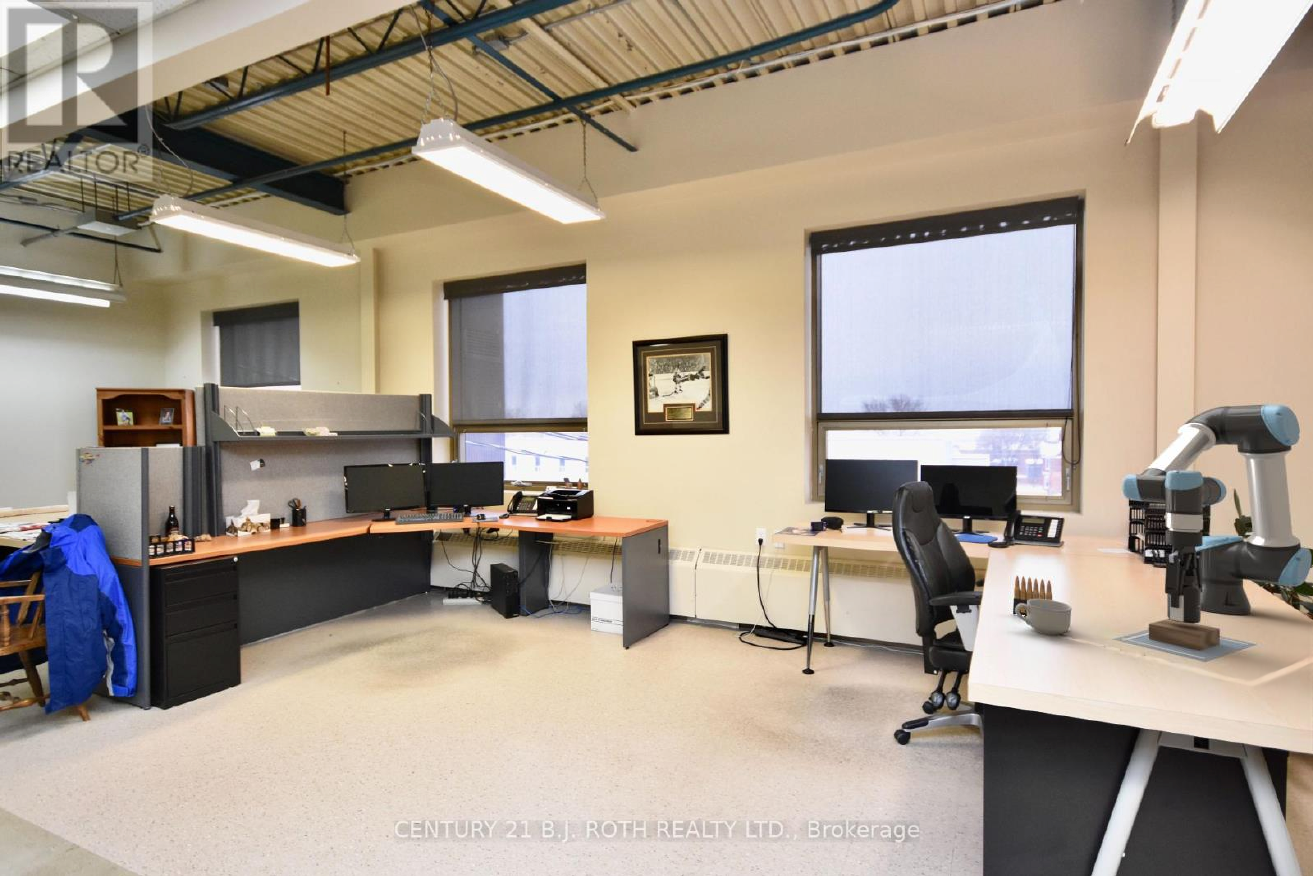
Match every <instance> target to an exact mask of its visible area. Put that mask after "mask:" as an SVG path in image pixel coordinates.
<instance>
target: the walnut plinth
mask: <svg viewBox="0 0 1313 876" xmlns="http://www.w3.org/2000/svg"><path fill="white" fill-rule="evenodd" d="M1148 630H1149V639H1151V640H1155V641H1159V642H1164V643H1168V644H1172V645H1176V646H1181V647H1185V648H1189V649H1193V650H1198V651H1200V650H1204V649H1207V648H1210V647H1213V646H1216V645H1219V644H1220V637H1221V632H1220V631H1221V629H1220V628H1218V627H1213V626H1209V625H1203V624H1199V623H1183V622H1177V621H1173V620H1171V619H1169V618H1166V619H1162V620H1159V621H1154V622H1151V623H1148Z"/></svg>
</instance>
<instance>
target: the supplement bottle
mask: <svg viewBox="0 0 1313 876" xmlns="http://www.w3.org/2000/svg"><path fill="white" fill-rule="evenodd" d="M1195 583H1196V576H1195V575H1192V574H1187V573H1185V577H1184V583H1183V589H1182V596H1184V621H1183V623H1194V624H1199V623H1201V619H1202V618H1201V615H1202V614H1201V613H1202V612H1201V611H1202V610H1201V590H1200V588H1199V587H1198V586H1196V585H1195ZM1166 596H1167V597H1166V606H1167V607H1166V609H1167V611H1166V612H1167V613H1166V615H1167V619H1170V594H1166ZM1171 620H1172V619H1171ZM1173 621H1176V620H1173ZM1177 622H1181V621H1177Z"/></svg>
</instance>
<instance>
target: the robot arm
mask: <svg viewBox="0 0 1313 876" xmlns="http://www.w3.org/2000/svg"><path fill="white" fill-rule="evenodd" d="M1300 433H1301V431H1300V425H1299V420H1298V418H1297V416H1296V414H1295V412H1294V411H1293V410H1292V409H1291V408H1290V407H1289V406H1287V405H1283V404H1252V405H1251V404H1250V405H1234V406H1233V405H1232V406H1230V405H1224V406H1218V407H1214V408H1210V409H1208V410H1205V411H1203V412H1201V413H1199V414H1197V415H1195V416H1194V417H1191V418H1190V419H1188V420H1187V421H1186V422H1184V424H1183V425H1181V426H1180V428H1178V431H1177V434H1176V435H1177V436H1176V437H1175V439H1174V440H1172V442H1170V444H1169V445H1167V447H1166V448H1165V449H1164V450H1163V451H1162V452H1161V453H1160V454H1159V455H1158V456H1157V457H1156V458H1155V459H1153V462H1151V463H1150V464H1149V466H1148V467H1146V468H1145V469H1144V470H1143V472H1142V473H1140V474H1138V473H1135V474H1133V473H1131V474H1127V475H1125V476H1124V477H1123V480H1122V483H1121V490H1122V493H1123V495H1124V497H1125V498H1126V499H1128V500H1131V501H1138V502H1150V503H1151V502H1153V503H1164V504H1165V515H1164V516H1163V518H1164V519H1165V527H1166V528H1167V529H1166V530H1165V543H1166V544H1167V545H1170V546H1172V550H1171V553H1170V554H1169V553H1166V554H1165V564H1166V566H1165V581H1164V593H1165V594H1166V595H1167V594H1170V619H1172V620H1176V621H1181V622H1183V621H1184V596H1182V589H1183V583H1184V577H1185V573H1187V574H1192V575H1195V576H1196V583H1195V585H1196V586H1198V587H1199V588H1200V590H1201V611H1205V612H1210V613H1216V614H1225V615H1238V614H1239V616H1240V615H1241V616H1242V615H1250V614H1251V613H1252V609H1251V608H1252V607H1251V603H1250V601H1249V598H1248V595H1247V593H1246V590H1245V588H1244V580H1246V581H1254V582H1260V583H1264V584H1265V583H1266V584H1273V585H1278V586H1287V587H1288V586H1289V587H1298V586H1301V585H1302V584H1303V583H1304V582H1305V581H1306V579H1307V578H1308V575H1309V573H1310V570H1311V566H1312V553H1311V550H1310V549H1309V548H1306V547H1304V546H1301V545H1302V544H1301V539H1299V538H1298V537H1297V536H1296V535H1294V534H1293V528H1292V519H1291V518H1292V517H1291V515H1292V514H1291V507H1290V505H1291V504H1290V495H1289V487H1288V485H1289V484H1288V477H1287V476H1288V475H1287V473H1288V472H1287V465H1286V456H1287V455H1288V453H1290V452H1291V451H1292V446H1294V445H1297V444H1298V442H1299V440H1300ZM1219 445H1220V446H1221V445H1223V446H1224V445H1225V446H1226V445H1229V446H1230V445H1233V446H1237V453H1238V454H1240V455H1241V456H1243V457H1244V458H1245V469H1246V479H1247V488H1248V489H1247V490H1248V497H1249V507H1250V508H1249V509H1250V517H1251V525H1252V527H1251V528H1252V533H1251V535H1249V536H1248V537H1247V538H1246V541H1245V539H1244V537H1243V536H1241V535H1208V536H1207V535H1206V536H1205V535H1204V536H1203V532H1202V530H1203V529H1204V521H1203V519H1204V518H1203V516H1204V514H1203V506H1214V505H1217V504H1218V503H1222V501H1223V500H1224V499H1225V497H1226V496H1227V488H1226V485H1225V484H1224V483H1223V481H1221V480H1220V479H1218V478H1216V477H1211V476H1203V473H1202V472H1200V471H1198V470H1188V468H1190V466H1191V465H1192V464H1193V463H1194V462H1195V461H1196V460H1197V459H1198V458H1199V456H1201V455H1202V453H1203V452H1206V451H1208V450H1211V449H1212V448H1213V447H1215V446H1219Z"/></svg>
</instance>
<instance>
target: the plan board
mask: <svg viewBox="0 0 1313 876" xmlns="http://www.w3.org/2000/svg"><path fill="white" fill-rule="evenodd" d="M1112 640H1115V641H1119V642H1122V643H1127V644H1131V645H1133V646H1139V647H1143V648H1146V649H1151V650H1154V651H1155V650H1156V651H1160V652H1163V653H1167V654H1171V655H1175V656H1179V657H1183V658H1188V659H1192V660H1196V661H1200V662H1203V663H1206V662H1209V661H1212V660H1215V659H1219V658H1220V657H1223V656H1227V655H1230V654H1233V653H1236V652H1238V651H1242V650H1244V649H1247V648H1250V647H1253V646H1256V645H1257V643H1253V642H1248V641H1245V640H1244V641H1243V640H1239V639H1234V638H1229V637H1224V636H1220V644H1219V645H1216V646H1213V647H1210V648H1207V649H1204V650H1200V651H1198V650H1193V649H1189V648H1185V647H1181V646H1176V645H1172V644H1168V643H1164V642H1159V641H1155V640H1151V639H1149V629H1146V630H1142V631H1139V632H1138V631H1137V632H1134V633H1131V634H1127V635H1123V636H1118V637H1117V638H1112Z"/></svg>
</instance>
